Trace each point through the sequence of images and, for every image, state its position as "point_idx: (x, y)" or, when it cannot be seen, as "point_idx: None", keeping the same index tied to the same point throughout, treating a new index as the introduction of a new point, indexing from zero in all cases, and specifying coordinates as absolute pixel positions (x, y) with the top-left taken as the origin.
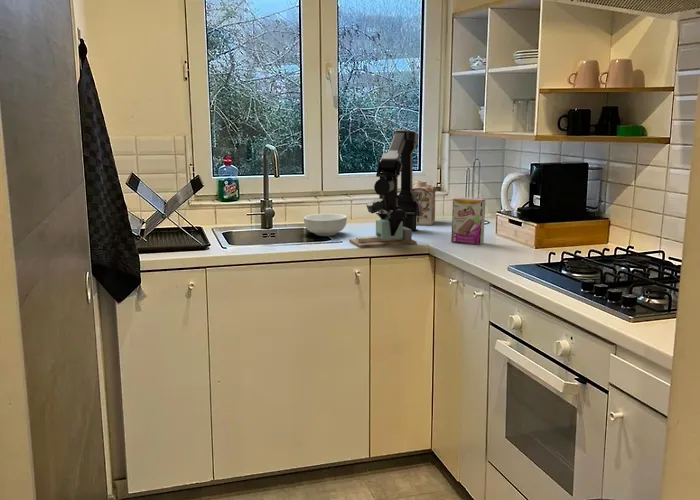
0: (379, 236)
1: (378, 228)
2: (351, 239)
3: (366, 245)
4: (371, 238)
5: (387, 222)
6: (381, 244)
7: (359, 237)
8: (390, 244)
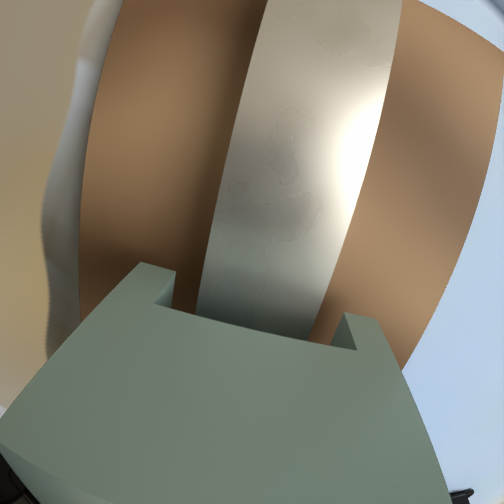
0: (265, 311)
1: (282, 388)
2: (488, 56)
3: (124, 14)
4: (231, 142)
5: (33, 493)
6: (85, 188)
7: (361, 11)
8: (85, 281)
